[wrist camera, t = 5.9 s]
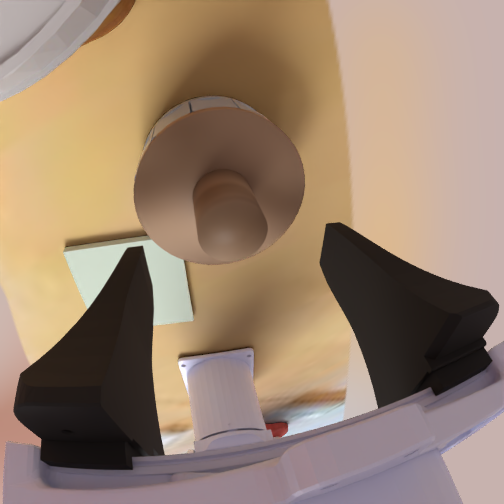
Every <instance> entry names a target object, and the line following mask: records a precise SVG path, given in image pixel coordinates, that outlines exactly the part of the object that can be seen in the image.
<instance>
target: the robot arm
mask: <svg viewBox="0 0 504 504" xmlns="http://www.w3.org/2000/svg"><path fill="white" fill-rule="evenodd" d="M320 266H321V268H322V271H323V274H324V276H325V279H326V281H327V283H328V285H329V287H330V289H331V291H332V293H333V294H334V296H335V298H336V300H337V301H338V303H339V305H340V307H341V309H342V310H343V312H344V314H345V316H346V318H347V319H348V321H349V323H350V325H351V327H352V329H353V331H354V333H355V336H356V338H357V341H358V343H359V346H360V348H361V351H362V354H363V357H364V359H365V363H366V365H367V368H368V372H369V375H370V378H371V382H372V385H373V388H374V392H375V397H376V401H377V405H378V409H376V410H374V411H371V412H368V413H365V414H362V415H359V416H356V417H353V418H350V419H347V420H344V421H341V422H338V423H334V424H331V425H328V426H324V427H321V428H317V429H314V430H310V431H306V432H303V433H299V434H295V435H291V436H286V437H282V438H280V437H273V435H272V432H271V430H267V429H266V426H265V422H264V419H263V415H262V412H261V408H260V404H259V401H258V397H257V393H256V390H255V386H254V382H253V368H254V351H253V349H252V348H245V349H239V350H233V351H227V352H220V353H213V354H206V355H199V356H191V357H184V358H180V359H178V365H179V368H180V371H181V374H182V377H183V380H184V383H185V386H186V389H187V392H188V395H189V400H190V407H191V414H192V421H193V428H194V434H195V441H194V447H195V451H194V450H188V453H186V454H175V455H165V454H164V449H163V444H162V439H161V434H160V428H159V422H158V416H157V409H156V401H155V393H154V384H153V373H152V339H153V319H154V298H153V285H152V281H151V277H150V273H149V269H148V265H147V261H146V257H145V252H144V248H143V246H135V247H128V248H127V249H126V250H125V252H124V253H123V255H122V257H121V259H120V260H119V262H118V264H117V265H116V267H115V269H114V271H113V272H112V274H111V275H110V277H109V279H108V280H107V282H106V284H105V285H104V287H103V288H102V290H101V291H100V293H99V294H98V295H97V297H96V298H95V300H94V301H93V303H92V304H91V305H90V307H89V308H88V309H87V311H86V312H85V313H84V315H83V316H82V317H81V318H80V319H79V321H78V322H77V323H76V324H75V325H74V326H73V327H72V328H71V329H70V330H69V331H68V333H67V334H66V335H65V336H64V337H63V338H62V339H61V340H60V341H59V342H58V343H57V344H56V345H55V346H54V347H52V348H51V349H50V350H49V351H48V352H47V353H46V354H45V355H43V356H42V357H41V358H40V359H39V360H37V361H36V362H35V363H34V364H32V365H31V366H30V367H28V368H27V369H26V370H25V371H23V372H22V373H21V374H20V378H19V382H18V386H17V392H16V397H15V403H14V414H15V416H16V417H17V419H18V420H19V421H20V422H21V423H22V424H23V425H24V426H26V427H27V428H28V429H29V430H31V431H32V432H33V433H34V434H36V435H37V436H38V437H40V438H41V439H42V440H41V447H38V446H35V445H32V444H25V443H18V442H11V441H8V442H6V449H5V460H4V476H3V478H4V479H3V504H463V503H462V500H461V498H460V496H459V493H458V491H457V489H456V487H455V484H454V482H453V480H452V478H451V475H450V473H449V471H448V469H447V467H446V465H445V462H444V460H443V458H442V456H441V454H443V453H444V452H446V451H448V450H449V449H451V448H452V447H454V446H456V445H457V444H459V443H460V442H462V441H463V440H465V439H466V438H468V437H469V436H471V435H472V434H474V433H475V432H477V431H478V430H480V429H481V428H482V427H484V426H485V425H486V424H488V423H489V422H491V421H492V420H493V419H495V418H496V417H497V416H499V415H500V414H501V413H503V412H504V341H503V342H501V343H500V344H498V345H496V346H494V347H493V348H491V349H490V350H489V351H488V352H487V351H486V350H485V349H484V346H485V345H486V341H485V340H484V338H483V336H484V334H485V333H486V332H487V330H488V329H489V327H490V326H491V324H492V323H493V321H494V320H495V318H496V316H497V313H498V311H499V304H498V302H497V301H496V300H495V299H494V298H493V297H492V295H491V294H490V293H489V292H488V291H487V290H482V289H478V288H474V287H470V286H466V285H462V284H459V283H456V282H452V281H450V280H447V279H444V278H441V277H439V276H436V275H434V274H431V273H429V272H427V271H424V270H422V269H420V268H418V267H416V266H414V265H412V264H410V263H408V262H406V261H404V260H402V259H400V258H398V257H397V256H395V255H393V254H391V253H390V252H388V251H386V250H385V249H383V248H381V247H380V246H378V245H376V244H375V243H373V242H372V241H370V240H368V239H367V238H365V237H364V236H362V235H360V234H359V233H357V232H356V231H354V230H353V229H351V228H349V227H348V226H346V225H344V224H342V223H340V222H338V223H328V224H326V228H325V235H324V241H323V247H322V252H321V258H320Z"/></svg>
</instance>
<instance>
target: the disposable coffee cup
mask: <svg viewBox="0 0 504 504" xmlns="http://www.w3.org/2000/svg"><path fill="white" fill-rule="evenodd" d="M134 2H135V0H0V101H3V100H5V99H7V98H9V97H11V96H13V95H15V94H17V93H19V92H21V91H23V90H25V89H26V88H28V87H30V86H31V85H33V84H34V83H36V82H37V81H39V80H41V79H42V78H44V77H45V76H47V75H48V74H49V73H50V72H52V71H53V70H54V69H55V68H56V67H58V66H59V65H60V64H61V63H63V62H64V61H65V60H66V59H67V58H69V57H70V56H71V55H72V54H73V53H74V52H75V51H76V50H77V49H78V48H79V47H81V46H83V45H85V44H87V43H89V42H91V41H93V40H96V39H98V38H100V37H102V36H104V35H106V34H107V33H109V32H110V31H111V30H113V29H114V28H116V27H117V26H118V25H119V24H120V23H121V22H122V21H123V20H124V18H125V17H126V16H127V15H128V13H129V12H130V10H131V8H132V6H133V5H134Z"/></svg>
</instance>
